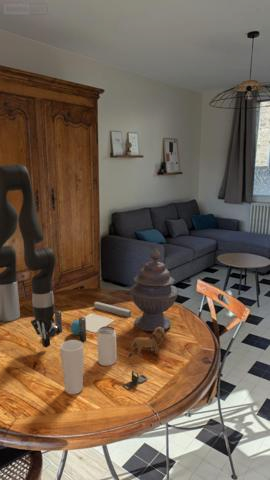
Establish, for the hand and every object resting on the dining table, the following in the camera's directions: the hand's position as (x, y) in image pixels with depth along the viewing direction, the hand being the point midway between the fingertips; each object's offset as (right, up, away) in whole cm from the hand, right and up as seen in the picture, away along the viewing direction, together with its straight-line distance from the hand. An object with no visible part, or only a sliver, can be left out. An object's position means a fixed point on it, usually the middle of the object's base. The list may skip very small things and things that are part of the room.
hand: (46, 346), depth 129 cm
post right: (+13, 0, +7) cm, 15 cm away
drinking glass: (+14, -6, -23) cm, 28 cm away
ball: (+10, +4, +12) cm, 16 cm away
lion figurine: (+38, -2, -2) cm, 38 cm away
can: (+23, -3, -8) cm, 25 cm away
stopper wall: (+22, +6, +34) cm, 41 cm away
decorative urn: (+41, +3, +19) cm, 46 cm away
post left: (+2, +2, +14) cm, 15 cm away
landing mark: (+15, +3, +22) cm, 27 cm away
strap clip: (+33, -6, -20) cm, 39 cm away
